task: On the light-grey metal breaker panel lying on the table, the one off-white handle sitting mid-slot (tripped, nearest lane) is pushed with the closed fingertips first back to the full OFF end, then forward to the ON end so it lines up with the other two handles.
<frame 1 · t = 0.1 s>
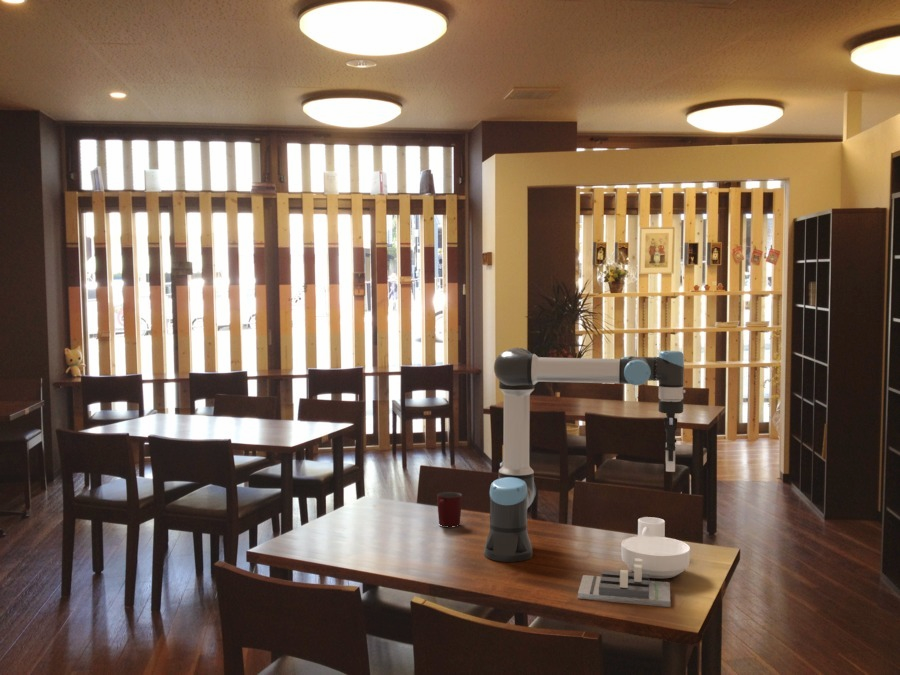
hand: (670, 467, 253), 28 cm above the table, fingers open, 13 cm apart
panel: (624, 593, 220), on the table
breaker near: (624, 578, 214), point 6 cm above the table, slide at 0.0 cm
breaker far: (638, 566, 224), point 6 cm above the table, slide at 3.5 cm
mug: (648, 554, 255), on the table
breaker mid: (637, 573, 219), point 6 cm above the table, slide at 3.5 cm
bowl: (655, 574, 236), on the table
mug 2: (447, 526, 286), on the table
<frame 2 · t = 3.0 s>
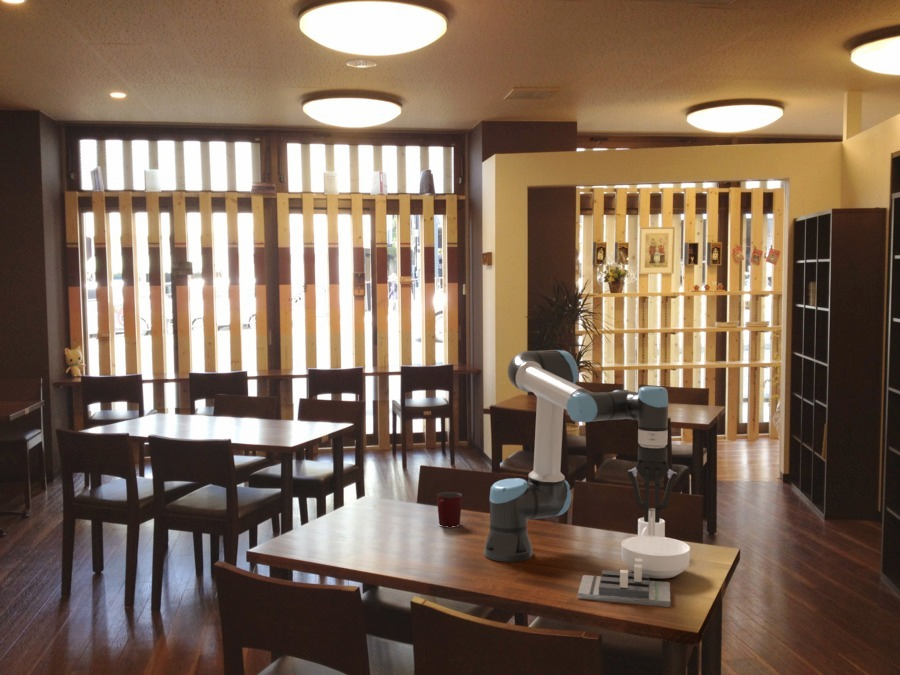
hand: (651, 534, 212), 18 cm above the table, fingers closed
nothing on the table moved.
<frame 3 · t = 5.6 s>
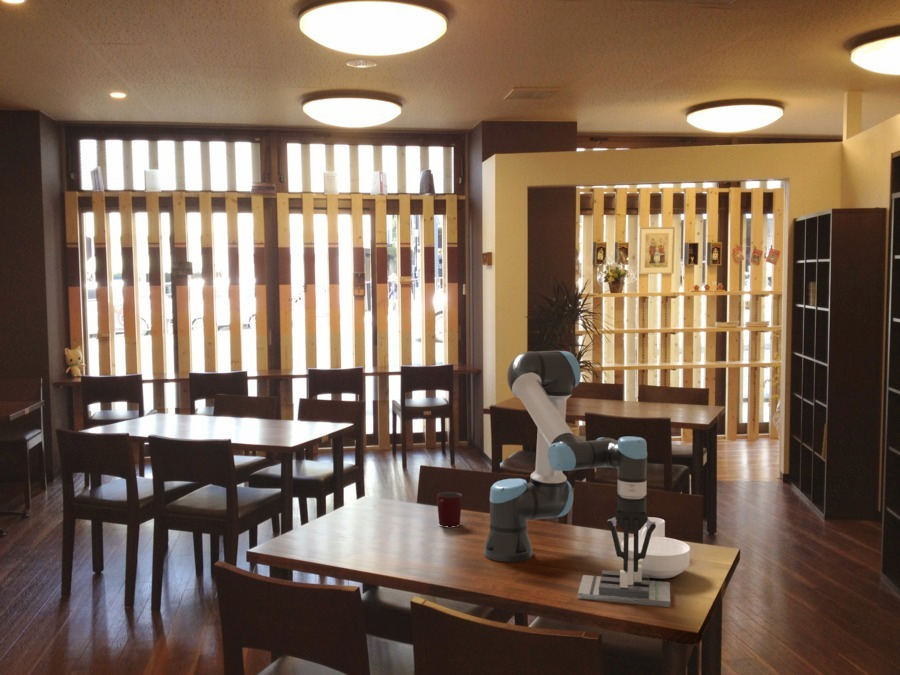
hand: (630, 583, 214), 5 cm above the table, fingers closed
breaker near: (623, 578, 214), point 6 cm above the table, slide at 0.0 cm, touching gripper
everything else where it was.
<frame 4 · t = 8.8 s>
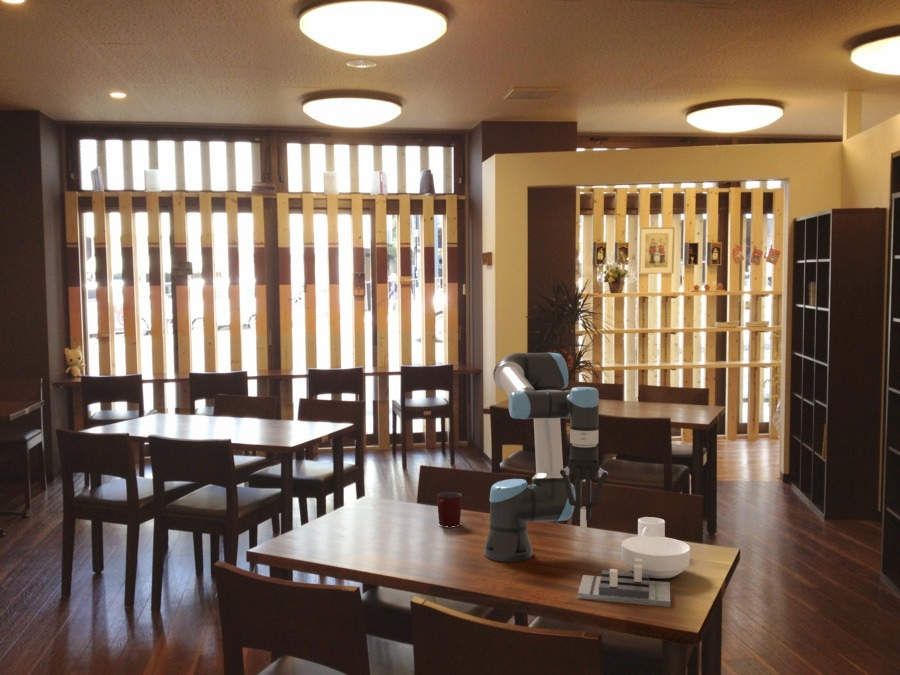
hand: (583, 531, 216), 18 cm above the table, fingers closed
breaker near: (613, 577, 215), point 6 cm above the table, slide at -2.7 cm
everything else where it was.
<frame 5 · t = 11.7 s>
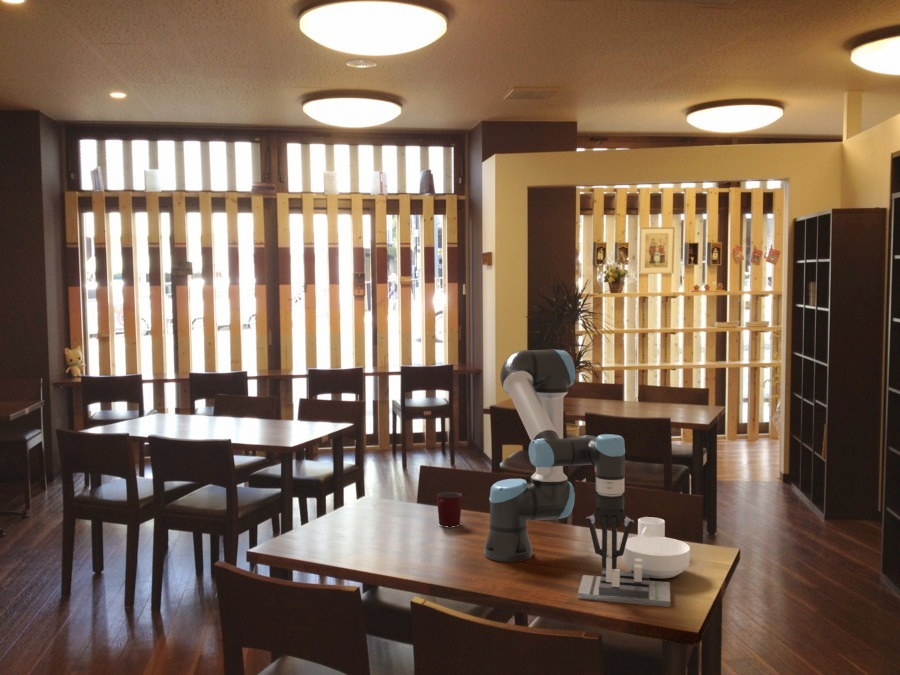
hand: (609, 580, 215), 5 cm above the table, fingers closed
breaker near: (615, 578, 215), point 6 cm above the table, slide at -2.1 cm, touching gripper
everything else where it was.
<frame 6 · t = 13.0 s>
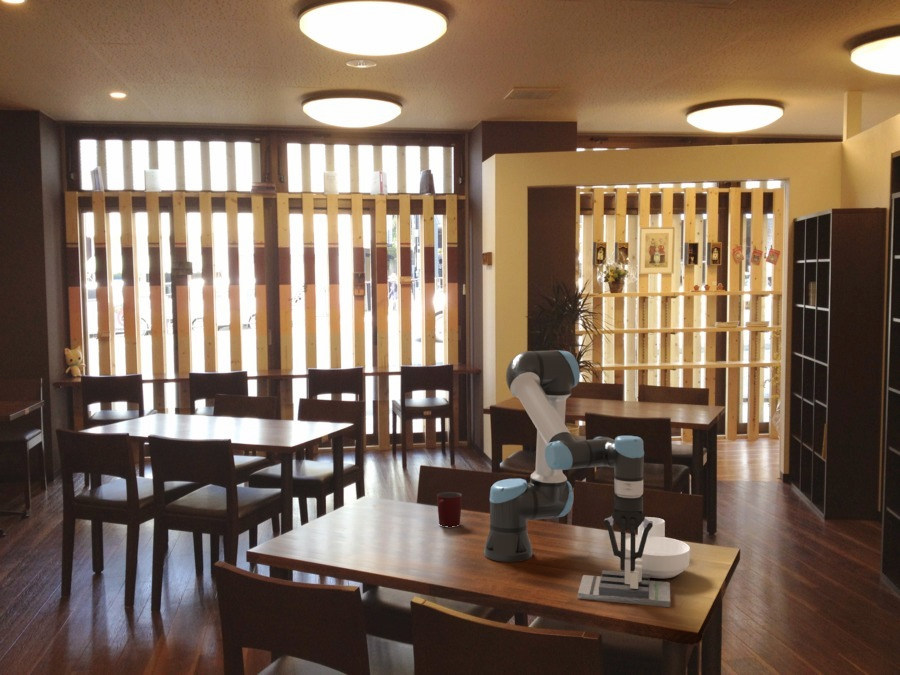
hand: (627, 582, 214), 5 cm above the table, fingers closed
breaker near: (634, 579, 213), point 6 cm above the table, slide at 2.7 cm, touching gripper
everything else where it was.
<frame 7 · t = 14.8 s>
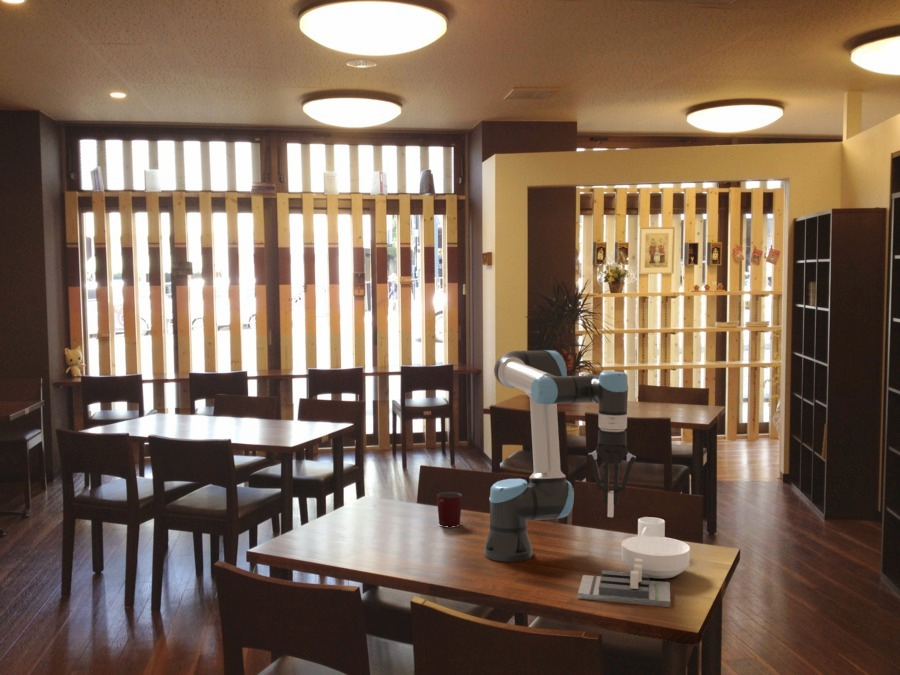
hand: (610, 515, 216), 22 cm above the table, fingers closed
breaker near: (634, 579, 213), point 6 cm above the table, slide at 2.7 cm
everything else where it was.
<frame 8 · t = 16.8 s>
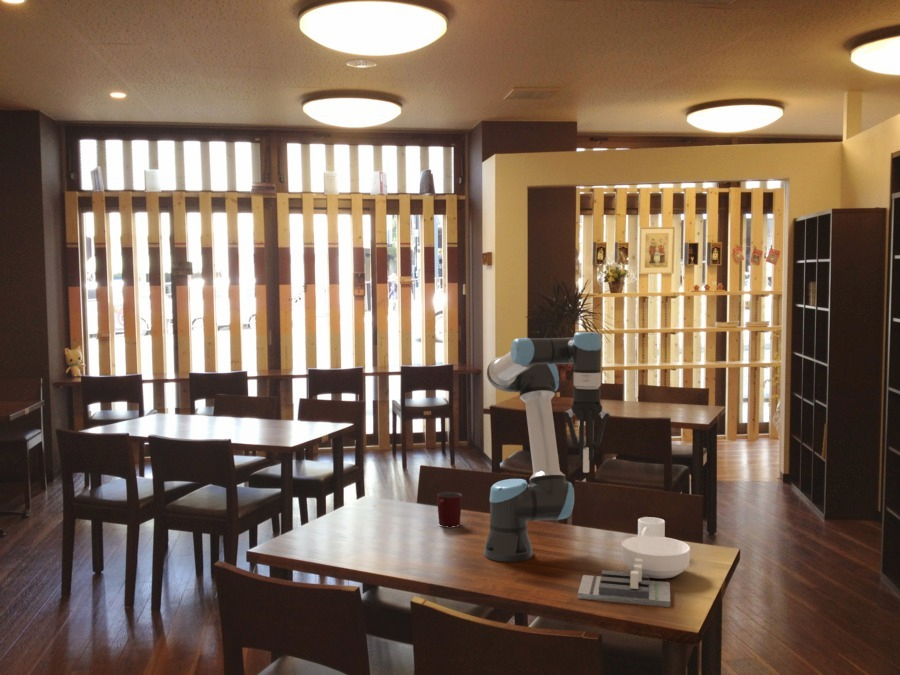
hand: (586, 471, 224), 32 cm above the table, fingers closed
nothing on the table moved.
at the end: breaker near slide at 2.7 cm; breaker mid slide at 3.5 cm; breaker far slide at 3.5 cm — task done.
